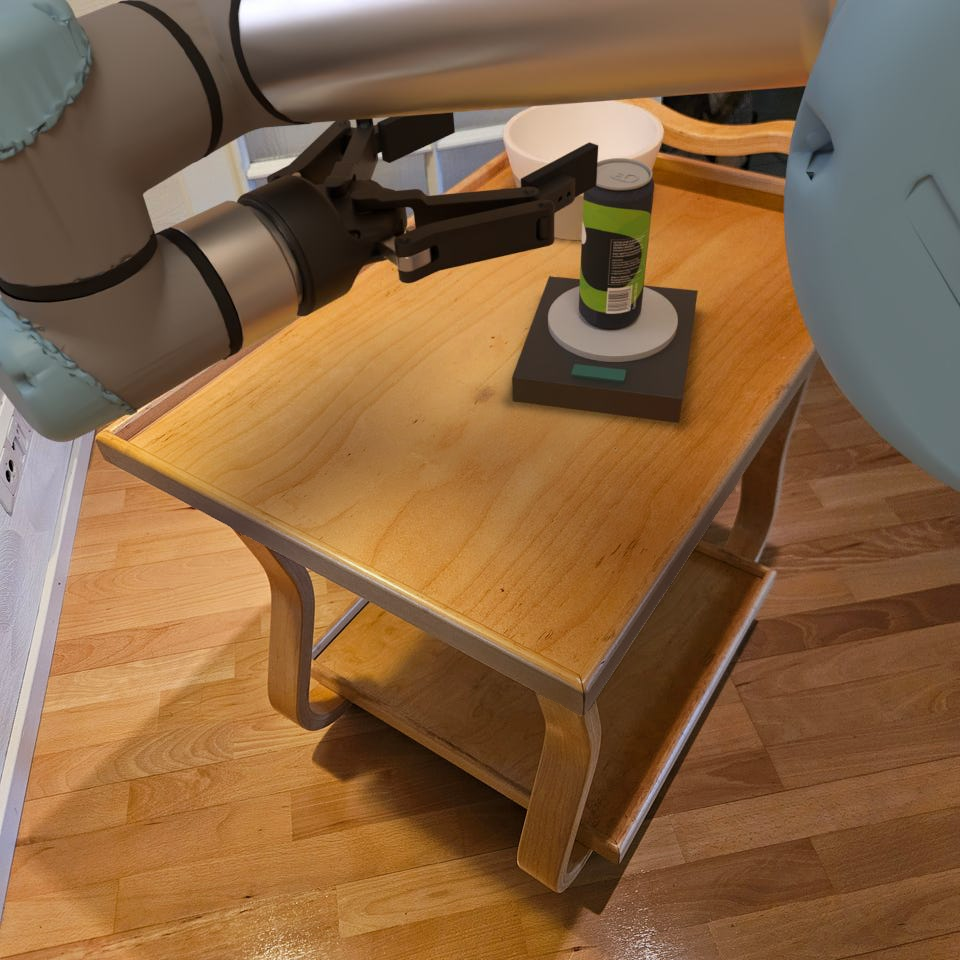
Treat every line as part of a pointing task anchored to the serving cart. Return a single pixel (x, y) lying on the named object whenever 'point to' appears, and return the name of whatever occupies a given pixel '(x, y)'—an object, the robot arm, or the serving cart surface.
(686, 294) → the scale
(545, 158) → the bowl
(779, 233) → the serving cart surface
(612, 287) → the beverage can
